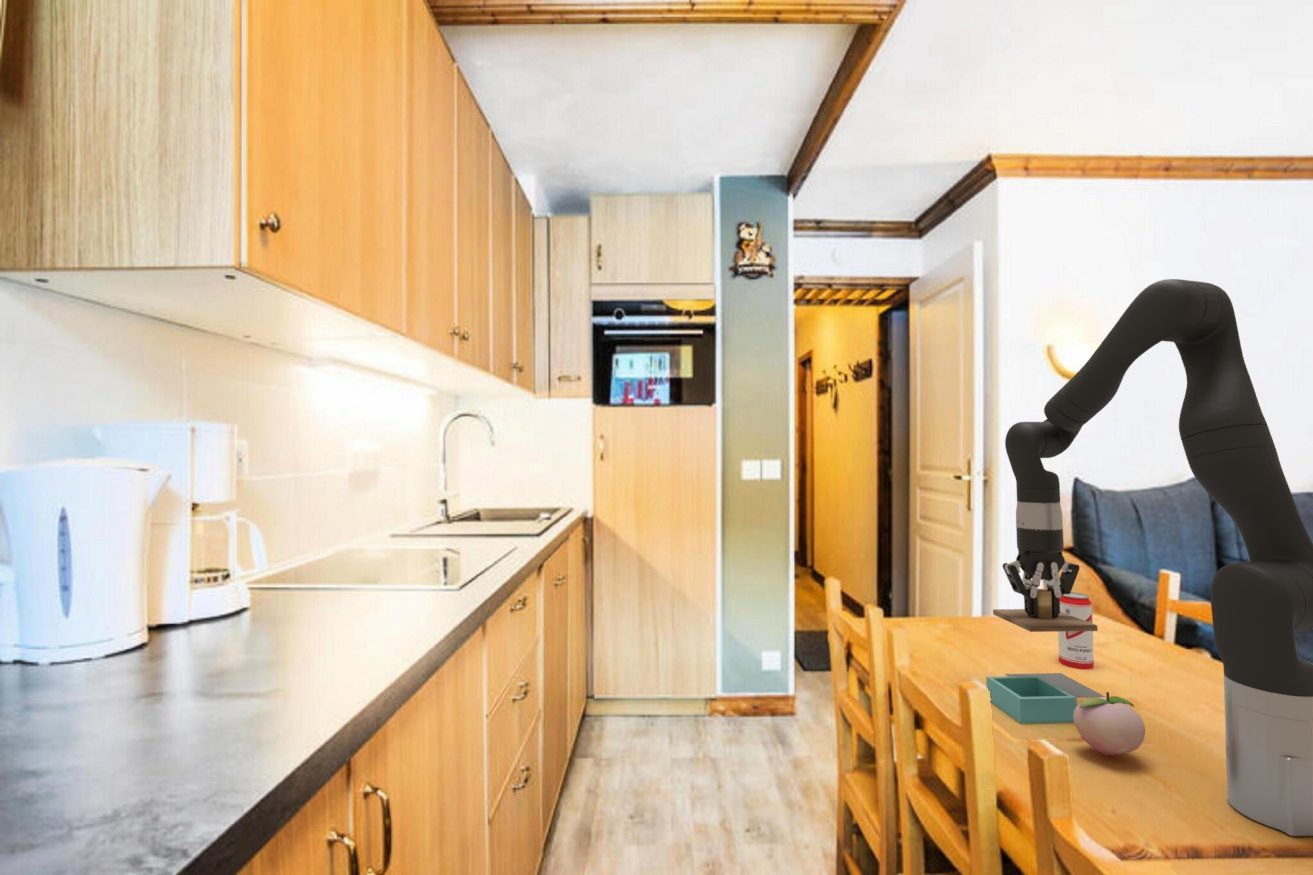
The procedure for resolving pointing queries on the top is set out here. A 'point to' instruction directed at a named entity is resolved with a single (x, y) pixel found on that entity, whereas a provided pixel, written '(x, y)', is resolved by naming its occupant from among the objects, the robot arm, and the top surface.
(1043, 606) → the lid
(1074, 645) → the beer can
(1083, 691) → the mat
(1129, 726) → the decorative fruit
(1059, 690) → the teal storage bin
